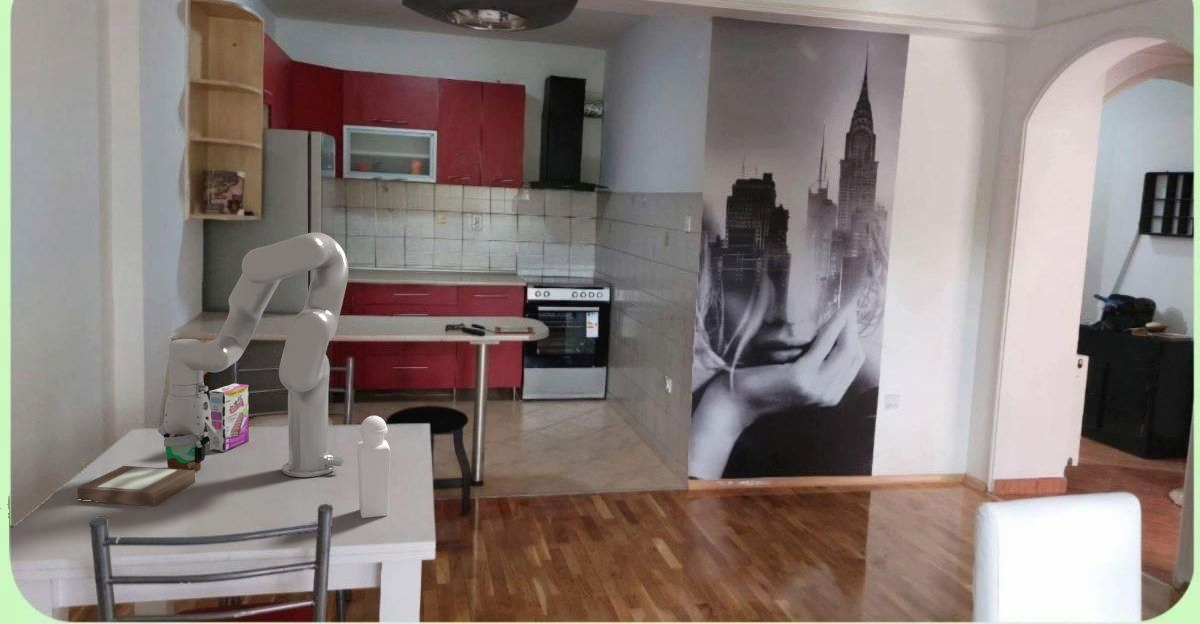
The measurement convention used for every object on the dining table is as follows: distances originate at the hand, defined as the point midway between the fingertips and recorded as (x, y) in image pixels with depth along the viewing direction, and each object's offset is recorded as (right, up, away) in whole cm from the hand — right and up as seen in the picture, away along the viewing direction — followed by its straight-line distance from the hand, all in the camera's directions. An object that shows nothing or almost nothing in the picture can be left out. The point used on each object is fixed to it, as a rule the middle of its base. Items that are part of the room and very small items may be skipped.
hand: (188, 459), depth 213 cm
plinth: (-4, -5, -15) cm, 16 cm away
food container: (+1, -3, 0) cm, 3 cm away
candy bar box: (+1, 0, +21) cm, 21 cm away
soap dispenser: (+52, -8, -23) cm, 58 cm away
